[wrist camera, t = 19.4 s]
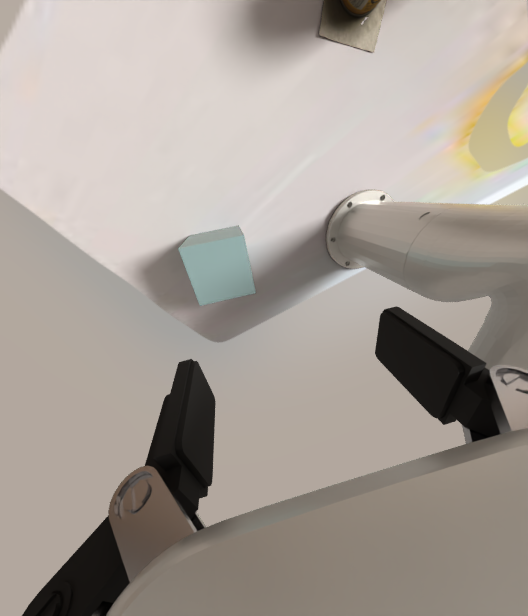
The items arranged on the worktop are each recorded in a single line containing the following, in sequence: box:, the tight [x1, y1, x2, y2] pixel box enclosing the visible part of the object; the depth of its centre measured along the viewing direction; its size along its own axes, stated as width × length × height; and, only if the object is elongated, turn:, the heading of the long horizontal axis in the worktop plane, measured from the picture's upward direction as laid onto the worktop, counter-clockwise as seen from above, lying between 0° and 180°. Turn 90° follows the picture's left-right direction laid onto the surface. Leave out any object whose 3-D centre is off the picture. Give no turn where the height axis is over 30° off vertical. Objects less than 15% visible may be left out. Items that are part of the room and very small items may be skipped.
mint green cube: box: [178, 226, 256, 306], centre depth 29 cm, size 8×8×9 cm
